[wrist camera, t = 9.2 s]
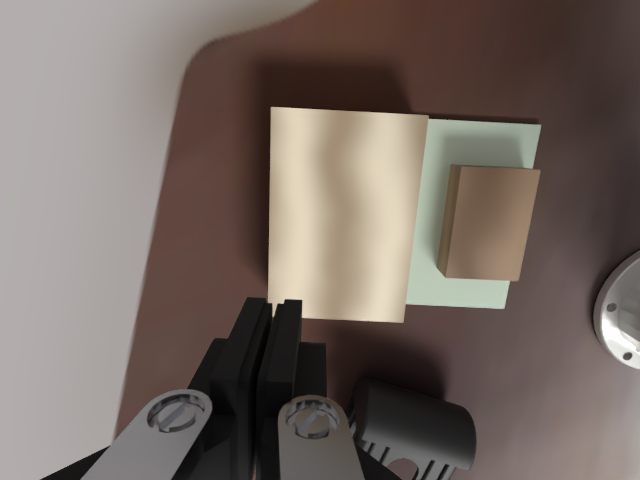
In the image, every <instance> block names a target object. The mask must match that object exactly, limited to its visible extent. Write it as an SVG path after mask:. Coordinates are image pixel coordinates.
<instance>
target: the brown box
mask: <svg viewBox="0 0 640 480" xmlns="http://www.w3.org/2000/svg"><path fill="white" fill-rule="evenodd" d="M540 172H541V170H537V169H530V168H521V167H499V166H478V165H456V164H451V168H450V175H449V182H448V189H447V197H446V204H445V211H444V218H443V226H442V233H441V240H440V247H439V255H438V262H437V269H438V270H439V271H440V272H441V273H442V275H443V276H444V277H445V278H457V279H479V280H502V281H518V280H519V275H520V270H521V266H522V261H523V256H524V251H525V246H526V241H527V236H528V231H529V226H530V221H531V216H532V211H533V206H534V201H535V196H536V191H537V187H538V182H539V177H540Z"/></svg>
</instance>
